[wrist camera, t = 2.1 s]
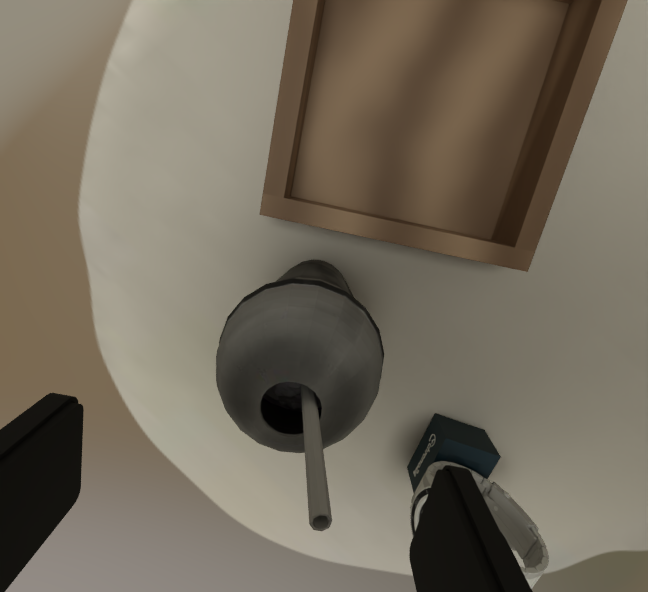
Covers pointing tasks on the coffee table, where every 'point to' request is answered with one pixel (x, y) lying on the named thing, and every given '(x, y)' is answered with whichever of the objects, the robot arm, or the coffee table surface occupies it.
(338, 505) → the coffee table surface
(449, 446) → the watch
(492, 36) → the walnut tray
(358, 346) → the beverage cup
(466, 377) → the coffee table surface
